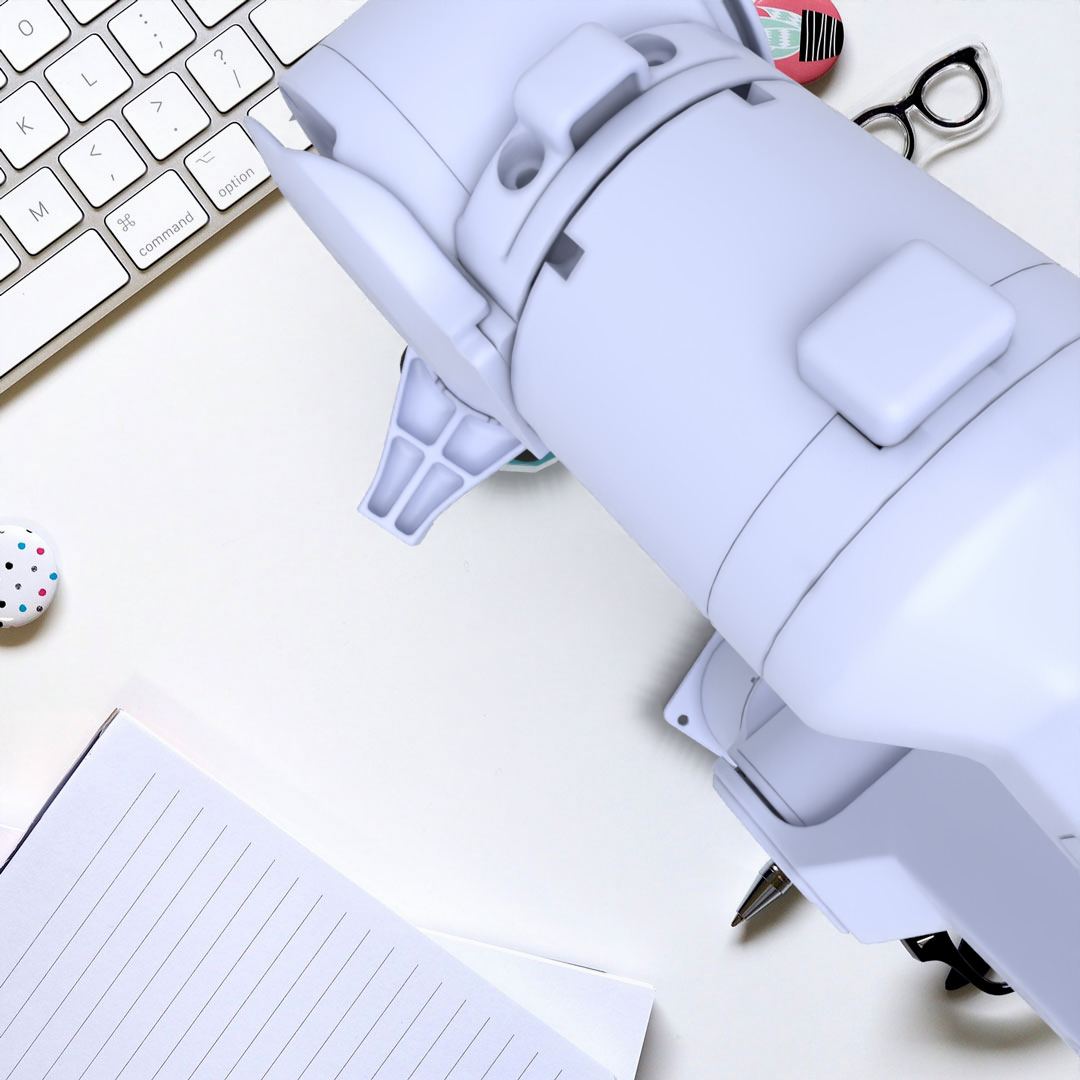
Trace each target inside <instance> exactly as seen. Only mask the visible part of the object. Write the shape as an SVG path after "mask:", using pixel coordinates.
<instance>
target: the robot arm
mask: <svg viewBox="0 0 1080 1080" xmlns="http://www.w3.org/2000/svg"><path fill="white" fill-rule="evenodd" d="M277 87H278V90H279V92H280V94H281V96H282V99H283V100H284V102H285V104H286V106H287V108H288V109H289V111H290V113H291V114H292V116H293V117H294V119H295V121H296V122H297V124H298V125H299V127H300V128H301V130H302V131H303V133H304V135H305V136H306V138H307V139H308V140H309V142H310V143H311V144H312V146H313V147H314V149H315V151H316V152H317V153H315V152H312V151H308V150H303V149H295V148H291V147H286V146H285V145H284V144H283V143H282V142H281V141H280V140H279V139H278V138H277V137H276V136H275V135H274V134H273V133H272V132H271V131H270V130H269V129H268V128H267V127H266V126H264V125H263V124H262V123H261V122H260V121H259V120H257V119H256V118H255V117H253V116H251V115H245V116H244V117H243V118H242V123H243V125H244V127H245V128H246V130H247V132H248V134H249V136H250V139H251V140H252V142H253V144H254V146H255V147H256V150H257V152H258V153H259V155H260V158H261V159H262V161H263V162H264V165H265V167H266V168H267V171H268V172H269V174H270V176H271V178H272V181H273V182H274V184H275V186H276V187H277V188H278V190H279V191H280V192H281V194H282V196H283V197H284V198H285V200H286V201H287V202H288V204H289V205H290V207H292V209H293V210H294V211H295V213H296V214H297V215H298V216H299V218H300V219H301V221H303V223H304V224H305V225H306V226H307V228H308V229H309V230H310V231H311V233H312V234H313V235H314V236H315V238H317V240H318V241H319V242H320V244H321V245H322V246H323V247H324V249H326V251H327V252H328V253H329V254H330V255H331V257H332V258H333V259H334V261H336V263H337V264H338V265H339V266H340V268H342V270H343V271H344V272H345V274H346V275H347V276H348V277H349V279H350V280H351V281H352V282H353V283H354V284H355V285H356V286H357V288H358V289H359V290H360V291H361V292H362V294H364V296H365V297H366V298H367V299H368V300H369V302H370V303H371V304H372V305H373V306H374V307H375V309H376V310H377V311H378V312H379V313H380V314H381V315H382V317H383V318H384V319H385V320H386V321H387V322H388V323H389V325H390V326H391V327H392V328H393V329H394V330H395V331H396V333H397V334H398V335H399V336H400V337H401V338H402V339H403V340H404V342H405V343H406V344H407V345H406V346H405V348H404V349H403V352H402V354H401V356H400V361H399V371H400V372H399V373H400V377H399V381H398V386H397V388H396V389H397V390H396V393H395V398H394V402H393V406H392V410H391V415H390V419H389V423H388V426H387V427H388V428H387V430H386V431H387V432H386V436H385V440H384V445H383V449H382V452H381V456H380V459H379V462H378V465H377V469H376V471H375V474H374V476H373V478H372V481H371V483H370V485H369V487H368V488H367V490H366V492H365V494H364V496H363V497H362V499H361V501H360V503H359V504H358V506H357V508H356V511H357V512H358V513H359V514H361V515H362V516H364V517H365V518H367V519H368V520H370V521H371V522H373V523H374V524H376V525H377V526H379V527H380V528H382V529H383V530H385V531H386V532H388V533H389V534H391V535H392V536H394V537H395V538H397V539H398V540H400V541H402V542H403V543H404V544H406V545H408V546H409V547H415V546H419V545H421V543H422V542H423V541H424V539H425V537H426V536H427V535H428V533H429V531H430V530H431V528H432V527H433V525H434V523H435V521H436V520H437V519H438V518H439V517H440V516H441V515H442V514H443V513H445V511H446V510H447V509H449V508H450V507H451V506H452V505H453V504H455V503H456V502H457V501H459V500H460V499H461V498H462V497H464V496H465V495H467V494H468V493H469V492H470V491H472V490H473V489H475V488H476V487H477V486H479V485H480V484H482V482H483V483H484V481H485V480H487V479H488V478H489V477H491V476H492V475H494V474H495V473H496V472H497V471H500V470H499V469H500V468H502V467H503V466H504V465H506V464H507V463H508V462H510V461H511V460H512V459H514V460H517V461H520V462H529V463H530V462H536V461H538V460H540V459H542V458H543V457H545V456H546V455H547V454H548V453H549V452H550V451H551V452H552V453H553V454H554V455H555V456H556V457H557V458H558V459H559V462H560V463H561V465H563V466H564V467H565V468H566V469H567V470H568V471H569V472H570V474H571V475H572V476H573V477H574V478H575V479H576V480H577V481H578V482H579V483H580V485H582V486H583V487H584V488H585V490H586V491H587V492H588V493H589V494H590V495H591V496H592V497H593V498H594V499H595V500H596V501H597V502H598V503H599V504H600V506H601V507H602V508H603V509H604V510H605V511H606V512H607V513H608V514H609V515H610V516H611V517H612V519H613V520H614V521H615V522H616V523H617V524H618V525H619V526H620V527H621V528H622V529H623V530H624V531H625V532H626V534H627V535H628V536H629V537H630V538H631V539H632V540H633V541H634V542H635V543H636V544H637V546H639V547H640V549H641V550H642V551H643V552H644V553H645V554H646V555H647V556H648V557H649V558H650V560H652V562H654V563H655V565H656V566H657V567H658V568H659V569H660V570H661V571H662V572H663V573H664V575H665V576H667V578H668V579H669V580H670V581H671V582H672V583H673V584H674V585H675V586H676V587H677V588H678V589H679V591H680V592H681V593H682V594H683V595H684V596H685V597H686V598H687V599H688V600H689V601H690V602H691V604H692V605H693V606H694V607H695V608H696V609H697V610H698V611H699V612H700V613H701V614H702V616H703V617H705V618H706V620H707V621H708V622H710V624H711V626H712V627H713V628H714V629H715V631H714V632H713V634H712V636H711V637H710V639H709V640H708V641H707V643H706V645H705V646H704V648H703V649H702V650H701V652H700V654H699V655H698V657H697V658H696V660H695V661H694V662H693V664H692V666H691V668H689V671H687V673H686V675H685V676H684V678H683V680H682V681H681V682H680V684H679V685H678V686H677V688H676V690H675V692H674V693H673V695H672V696H671V697H670V699H669V700H668V702H667V704H666V705H665V706H664V709H663V711H662V715H663V719H664V720H665V721H666V722H667V723H668V724H669V725H671V727H674V728H675V729H677V730H678V731H680V732H681V733H683V734H684V735H686V736H687V737H689V738H691V739H692V740H693V741H695V742H697V743H698V744H700V745H701V746H702V747H704V748H706V749H707V750H709V751H711V752H712V753H713V754H715V755H716V756H718V758H717V759H716V760H714V762H713V763H712V764H711V769H712V771H713V774H712V788H713V789H714V791H715V792H716V794H717V795H718V796H719V798H720V799H721V800H722V801H723V802H724V804H725V805H726V806H727V808H728V809H729V810H730V812H731V813H732V814H733V815H734V816H735V817H736V818H737V820H738V821H739V823H741V825H742V826H743V827H744V829H745V830H746V831H747V832H748V833H749V834H750V835H751V837H752V838H753V839H754V840H755V841H756V842H757V843H758V845H759V846H760V848H761V849H763V851H764V852H765V853H766V854H767V856H769V858H770V859H771V860H772V861H773V863H774V864H775V865H776V866H777V867H778V868H779V869H780V870H781V871H782V873H783V874H784V875H785V876H786V877H787V879H789V881H790V882H791V883H792V884H793V886H795V888H797V890H798V891H799V892H800V893H801V894H802V895H803V896H804V897H805V898H806V899H807V900H808V901H809V902H810V904H813V905H815V907H816V908H817V909H818V910H819V911H820V912H821V914H823V916H824V917H825V918H826V919H827V920H828V921H829V922H830V923H831V924H832V925H833V927H834V928H835V929H836V930H837V931H838V932H839V933H840V934H845V935H848V934H851V935H852V936H853V937H854V938H855V939H856V940H857V941H858V942H859V944H861V945H879V944H880V945H881V944H884V943H888V942H895V941H899V940H905V939H909V938H915V937H920V936H925V935H931V934H935V933H940V932H946V931H950V930H951V931H952V930H954V931H955V933H957V934H958V935H959V936H960V937H961V938H962V939H963V940H964V941H965V942H966V943H967V944H968V945H969V946H970V947H971V948H972V949H973V951H974V952H976V953H977V954H978V955H979V956H980V958H982V959H983V961H984V962H985V963H986V964H988V965H989V966H990V968H992V970H993V971H994V972H995V973H996V974H997V975H998V976H999V977H1000V978H1001V979H1002V980H1003V981H1004V982H1005V983H1006V984H1007V985H1008V986H1009V987H1010V988H1011V989H1012V990H1013V991H1014V992H1015V993H1016V994H1017V995H1018V996H1019V997H1020V998H1021V999H1022V1000H1023V1001H1024V1003H1026V1004H1027V1005H1028V1006H1029V1007H1030V1008H1031V1010H1033V1012H1035V1013H1036V1015H1038V1017H1040V1019H1042V1021H1044V1023H1046V1025H1047V1026H1048V1027H1049V1028H1050V1029H1051V1030H1052V1031H1053V1032H1054V1033H1055V1034H1056V1035H1057V1036H1058V1037H1059V1038H1060V1039H1061V1040H1062V1041H1063V1042H1064V1043H1065V1044H1066V1045H1067V1046H1068V1047H1069V1048H1070V1049H1071V1050H1072V1051H1073V1052H1074V1053H1075V1054H1076V1055H1077V1056H1078V1057H1079V1058H1080V277H1079V276H1077V274H1075V273H1073V272H1072V271H1071V270H1069V269H1067V267H1064V266H1063V265H1061V264H1060V263H1058V262H1057V261H1055V260H1054V259H1052V258H1051V257H1049V256H1048V255H1047V254H1045V253H1043V251H1041V250H1040V249H1038V248H1037V247H1035V246H1034V245H1032V244H1031V243H1030V242H1028V241H1026V240H1025V239H1023V238H1022V237H1021V236H1019V235H1018V234H1016V233H1015V232H1013V231H1012V230H1010V229H1009V228H1008V227H1006V226H1005V225H1003V224H1002V223H1000V221H997V220H996V219H995V218H993V217H991V216H990V215H989V214H987V213H986V212H984V211H983V210H981V209H980V208H979V207H977V206H975V205H974V204H973V203H971V202H970V201H968V200H967V199H965V197H963V196H961V195H960V194H959V193H957V192H956V191H954V190H952V188H950V187H948V186H946V185H945V184H944V183H943V182H941V181H940V180H938V179H937V178H935V177H934V176H932V175H931V174H930V173H928V172H926V171H925V170H924V169H922V168H921V167H920V166H918V165H917V164H915V163H914V162H913V161H911V160H909V159H908V158H906V157H905V156H903V155H902V154H901V153H899V152H898V151H896V150H895V149H893V148H892V147H890V146H889V145H888V144H886V143H885V142H883V141H882V140H880V139H879V138H877V137H876V136H874V135H873V134H872V133H870V132H869V131H868V130H866V129H865V128H863V127H861V126H860V125H858V123H856V122H854V121H853V120H851V119H850V118H849V117H847V116H846V115H844V114H843V113H841V112H840V111H839V110H837V109H836V108H834V107H832V106H831V105H830V104H828V103H827V102H825V101H824V100H823V99H821V98H820V97H818V96H817V95H815V94H814V93H813V92H811V91H809V90H808V89H807V88H805V87H804V86H803V85H802V84H800V83H799V82H797V81H796V80H794V79H793V78H791V77H790V76H789V75H787V74H785V73H784V72H783V71H782V70H779V69H778V68H777V67H776V64H775V59H774V55H773V52H772V48H771V45H770V41H769V38H768V36H767V32H766V29H765V27H764V25H763V21H762V19H761V17H760V15H759V12H758V10H757V8H756V6H755V4H754V1H753V0H367V1H366V2H365V3H364V4H363V5H361V7H359V8H358V9H357V10H355V12H354V13H352V14H351V15H350V16H348V18H346V19H345V20H344V21H343V22H342V23H341V24H339V25H338V26H337V27H336V28H335V29H334V30H332V31H331V32H330V33H329V34H328V35H327V36H326V37H324V38H323V39H322V40H321V41H320V42H319V43H317V44H316V45H315V46H314V47H313V48H312V49H311V50H309V51H308V52H307V53H306V54H305V55H304V56H302V58H300V59H298V61H297V62H295V64H293V65H292V66H291V67H290V68H289V69H287V70H286V71H285V72H284V73H283V74H282V75H280V76H279V77H278V80H277ZM681 716H686V718H687V719H686V722H684V723H681V722H680V723H679V718H680V717H681Z"/></svg>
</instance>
